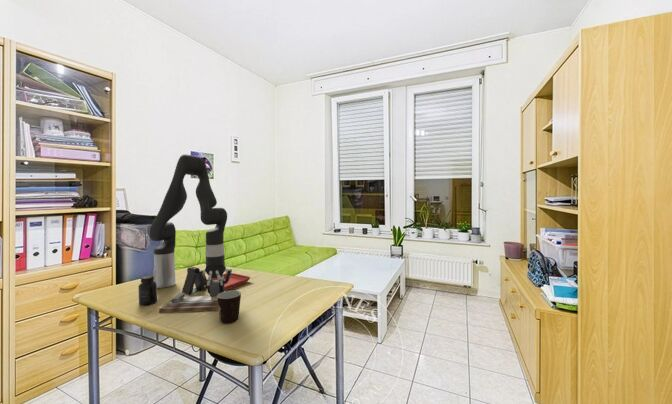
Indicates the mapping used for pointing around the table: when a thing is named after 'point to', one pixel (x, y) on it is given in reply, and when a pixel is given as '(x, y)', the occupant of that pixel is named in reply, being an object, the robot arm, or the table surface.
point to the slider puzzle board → (189, 304)
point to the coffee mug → (229, 306)
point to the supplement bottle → (147, 291)
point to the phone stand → (193, 281)
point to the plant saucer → (234, 280)
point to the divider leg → (214, 289)
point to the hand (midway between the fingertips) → (216, 293)
